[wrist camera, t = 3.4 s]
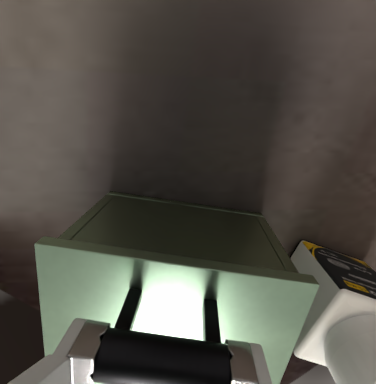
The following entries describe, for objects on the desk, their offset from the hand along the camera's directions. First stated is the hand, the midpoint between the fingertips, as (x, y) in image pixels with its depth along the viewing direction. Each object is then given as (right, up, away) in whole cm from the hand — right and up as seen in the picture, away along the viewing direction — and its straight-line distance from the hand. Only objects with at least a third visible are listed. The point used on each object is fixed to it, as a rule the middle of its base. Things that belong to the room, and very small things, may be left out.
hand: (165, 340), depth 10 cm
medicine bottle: (+14, -2, +14) cm, 20 cm away
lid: (-1, -5, +5) cm, 7 cm away
